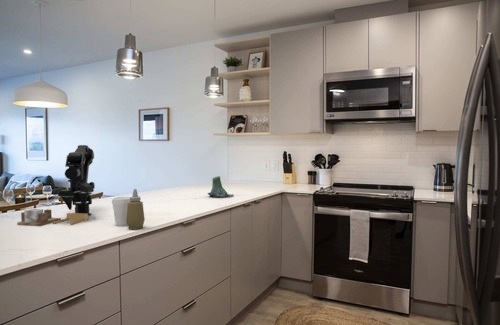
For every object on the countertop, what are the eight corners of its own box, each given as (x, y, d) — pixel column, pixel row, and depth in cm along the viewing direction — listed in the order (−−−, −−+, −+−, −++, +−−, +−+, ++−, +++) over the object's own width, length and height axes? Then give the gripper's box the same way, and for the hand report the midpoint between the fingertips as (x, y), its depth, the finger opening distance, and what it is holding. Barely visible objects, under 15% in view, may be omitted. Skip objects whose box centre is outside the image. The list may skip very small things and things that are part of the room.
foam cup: (112, 223, 164) (111, 197, 163) (132, 221, 168) (131, 196, 167) (112, 227, 155) (112, 199, 155) (133, 225, 159) (133, 198, 158)
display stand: (61, 220, 171) (60, 206, 171) (39, 226, 159) (39, 211, 158) (39, 219, 174) (39, 205, 174) (17, 224, 161) (16, 210, 161)
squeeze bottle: (129, 226, 158) (128, 188, 157) (146, 226, 159) (146, 188, 158) (124, 230, 150) (123, 190, 149) (142, 230, 151) (142, 190, 150)
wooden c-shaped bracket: (87, 220, 172) (87, 213, 171) (71, 225, 161) (71, 217, 161) (69, 219, 174) (69, 212, 174) (52, 223, 163) (52, 216, 163)
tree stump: (239, 197, 253) (234, 175, 250) (215, 206, 244) (210, 182, 240) (228, 193, 269) (223, 172, 265) (205, 201, 260) (200, 179, 256)
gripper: (76, 179, 160) (77, 212, 161) (102, 176, 178) (102, 205, 179) (56, 179, 163) (57, 211, 163) (84, 175, 181) (84, 204, 182)
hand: (77, 207), depth 172 cm, fingers open, 9 cm apart
